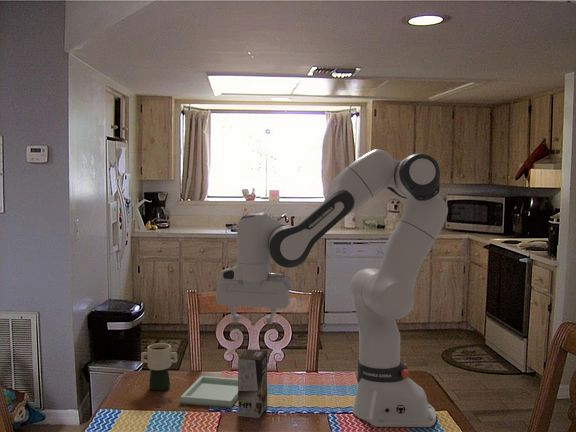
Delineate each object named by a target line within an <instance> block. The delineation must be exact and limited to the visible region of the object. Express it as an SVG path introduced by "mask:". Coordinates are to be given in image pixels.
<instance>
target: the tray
mask: <svg viewBox="0 0 576 432" xmlns="http://www.w3.org/2000/svg"><path fill="white" fill-rule="evenodd" d="M179 398H180V404H181V405H192V406H193V405H194V406H204V407H206V406H207V407H214V408H215V407H217V408H227V409H231V408H233V406H234V405H235V403H236V402H238V378H233V377H224V376H223V377H221V376H209V375H200V376H199V378H197V379H196V380H195V381H194V382H193V383H192V384H191V385H190V386H189V388H187V389H186V390H185V391H184V393H183V394H181V396H180V397H179Z"/></svg>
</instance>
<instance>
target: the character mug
mask: <svg viewBox="0 0 576 432" xmlns="http://www.w3.org/2000/svg"><path fill="white" fill-rule="evenodd" d="M145 356H147V359H145ZM172 356H173V359H172ZM140 357H141V358H140V361H141V363H143V364H147V368H148V369H149V370H150V376H149V386H148V388H149V389H150V390H154V391H162V390H163V391H164V390H165V389H168V388H169V387H171V381H170V380H171V379H170V374H169V369H168V368H170V367H171V366H172V364H176V363H178V353H177V352H176V351H172V345H171V344H169V343H165V342H159V343H157V342H156V343H153V344H152V343H151V344H149V345H148V346H147V351H143V352H141V354H140Z"/></svg>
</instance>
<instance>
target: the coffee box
mask: <svg viewBox="0 0 576 432" xmlns="http://www.w3.org/2000/svg"><path fill="white" fill-rule="evenodd" d="M237 379H238V399H237V416H238V417H244V418H253V419H260V418H261V417H262V415H263V413H264V411H265V410H266V408H267V406H268V350H267V349H249V348H248V349H247V348H245V350H244V351H243V353H242V354H241V355H240V356H239V357H238V358H237Z"/></svg>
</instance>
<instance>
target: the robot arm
mask: <svg viewBox="0 0 576 432" xmlns="http://www.w3.org/2000/svg"><path fill="white" fill-rule="evenodd" d="M440 179H441V170H440V166H439V163H438V162H437V160H436V159H435V158H433V156H431V155H429V154H426V153H419V152H418V153H413V154H410V155H409V156H407V157H406V158H404V159H403V160H396V159H395V158H393V157H392V155H391V154H390V153H388V152H387V151H385V150H383V149H379V148H377V149H372V150H371V151H369V152H367V153H365V154H362V155H361V156H360V157H358V158H357V159H355V160H354V161H353V162H351V163H350V164H349V165H348V166H346V167H345V168H344V169H343V170H341V171H340V172H339V173H338V174H337V175H336V176H335V177H334V179H333V180H332V181H331V182H330V183H329V185H328V190H327V195H326V196H325V199H324V200H323V201H322V203H320V205H319V206H318V207H317V208H315V209H314V211H312V212H311V213H310V214H309V215H307V217H305V218H304V219H303V220H302V221H300V222H299V223H298V224H296V225H291V224H287V223H285V222H281V221H279V220H278V219H275V218H274V217H272V216H271V215H269V214H268V213H266V212H265V211H264V212H263V211H259V212H257V211H256V212H251V213H248V214H244V215H243V216H242V217H240V219H239V221H238V223H237V232H236V233H237V234H236V248H237V259H236V265H233V266H230V267H227V268H224V269H223V270H221V271H220V272H219V279H220V280H219V281H218V282H217V285H216V291H215V302H216V304H217V305H219V306H228V311H229V312H230V314H231V316H232V322H235V323H237V322H240V317H241V316H240V314H238V313H237V312H236V310H235V309H236V307H249V308H250V307H251V308H265V309H266V308H267V309H270V310H269V311H270V313H271V314H270V315H268V316H266V319H265V320H266V321H265V324H266V325H272V324H273V322H274V316H275V315H276V313H277V311H278V309H283V310H284V309H288V307H289V306H290V303H291V296H290V289H291V283H292V282H291V281H292V280H291V278H290V276H288V275H286V274H285V273H276V272H270V259H272V260H273V261H274V262H275V263H276V264H277V265H279V266H280V267H283V268H285V269H286V268H287V269H289V268H290V269H291V268H297V267H298V266H300V265H301V264H303V263H304V262H305V261H306V260H307V259H308V256H309V255H310V252H311V251H312V248H313V246H314V245H315V244H316V243H317V242H318V241H319V240H320V239H321V238H322V237H323V236H324V235H325V234H327V233H328V232H329V231H330V230H331V229H332V228H333V227H335V226H336V224H338V223H339V222H340V221H341V220H342V219H344V218H345V217H347V216H348V215H350V214H352V213H353V212H354V211H357V210H358V209H359V208H361V207H362V206H364V205H365V204H367V203H368V202H369V201H370V200H372V199H373V198H375V196H377V195H378V194H379V193H380V192H382V191H384V190H385V189H388V190H389V191H391V192H392V193H394V194H395V195H396V196H398V197H400V198H402V199H407V200H406V201H407V202H406V203H407V204H406V209H405V211H404V213H403V214H402V216H401V217H400V219H399V221H398V222H397V224H396V225H395V227H394V228H393V231H392V232H391V234H390V236H389V237H388V239H387V240H386V242H385V244H384V253H383V258H382V261H381V265H380V268H379V269H378V268H374V267H373V268H372V267H371V268H370V267H368V268H363V269H360V270H358V271H356V272H355V274H354V275H353V276H352V278H351V281H350V289H351V290H350V291H351V293H352V295H353V296H352V297H353V300H354V308H355V314H356V321H357V326H358V333H359V334H358V335H359V339H358V342H359V343H358V347H359V348H358V356H359V357H358V359H357V365H356V380H357V387H356V388H357V389H356V394H355V398H354V403H353V407H352V409H351V410H352V413H353V415H354V416H356V417H357V418H358V419H361V420H363V421H366V422H367V423H369V424H370V425H371V426H373V427H377V428H378V427H379V428H430V427H433V426H434V425H435V424H436V422H437V412H436V409H435V408H434V407H433V406H432V405H431V404H430V403H429V401H428V398H427V394H426V392H425V390H424V388H423V387H421V386H420V385H419V384H418V383H416V382H415V381H413V380H412V379H411V378H410V371H409V369H408V366H407V364H406V362H404V363H403V362H402V361H401V333H400V330H399V328H398V327H399V326H398V324H397V320H400V319H402V318H404V317H406V316H408V315H409V314H410V312H411V311H412V310H413V308H414V305H415V295H414V293H415V291H414V290H415V286H416V282H417V279H418V276H419V272H420V270H421V267H422V265H423V263H424V262H425V260H426V258H427V256H428V254H429V252H430V251H431V249H432V247H433V246H434V244H435V242H436V241H437V239H438V237H439V235H440V233H441V231H442V229H443V227H444V224H445V223H446V219H447V217H448V213H449V206H448V205H447V203H446V201H445V200H444V199H443V198H442V197H440V196H439V195H438V194H439V193H440V184H441V183H440Z"/></svg>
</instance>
